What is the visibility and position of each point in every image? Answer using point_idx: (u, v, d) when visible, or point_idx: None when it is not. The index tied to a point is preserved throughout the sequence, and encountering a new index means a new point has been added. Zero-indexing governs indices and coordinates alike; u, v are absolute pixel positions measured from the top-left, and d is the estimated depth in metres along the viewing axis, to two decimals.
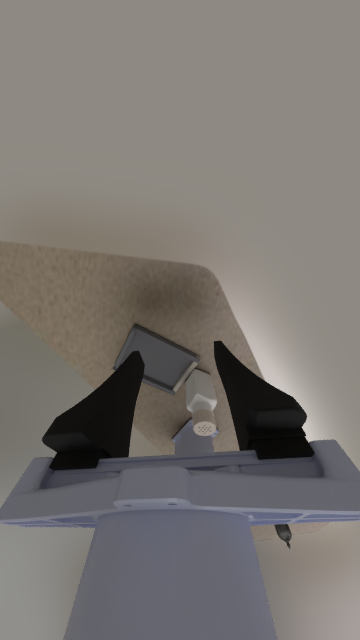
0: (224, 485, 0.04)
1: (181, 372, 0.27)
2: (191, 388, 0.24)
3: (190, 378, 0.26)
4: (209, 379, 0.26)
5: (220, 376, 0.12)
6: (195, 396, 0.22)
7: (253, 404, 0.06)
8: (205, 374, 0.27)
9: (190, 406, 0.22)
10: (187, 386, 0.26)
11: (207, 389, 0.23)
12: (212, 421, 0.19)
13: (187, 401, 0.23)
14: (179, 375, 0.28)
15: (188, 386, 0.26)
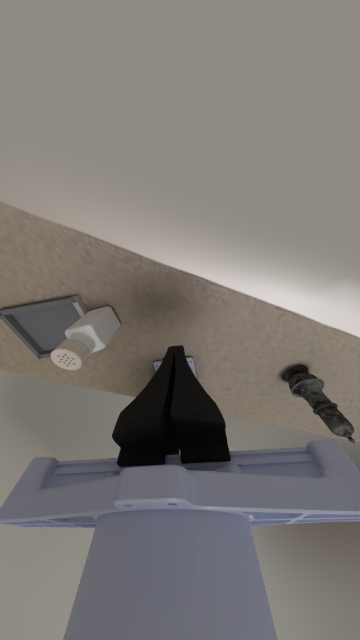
0: (224, 485, 0.04)
1: None
2: None
3: None
4: (100, 310, 0.21)
5: None
6: None
7: (175, 411, 0.06)
8: (99, 308, 0.22)
9: None
10: None
11: (85, 320, 0.19)
12: (62, 347, 0.15)
13: None
14: None
15: None
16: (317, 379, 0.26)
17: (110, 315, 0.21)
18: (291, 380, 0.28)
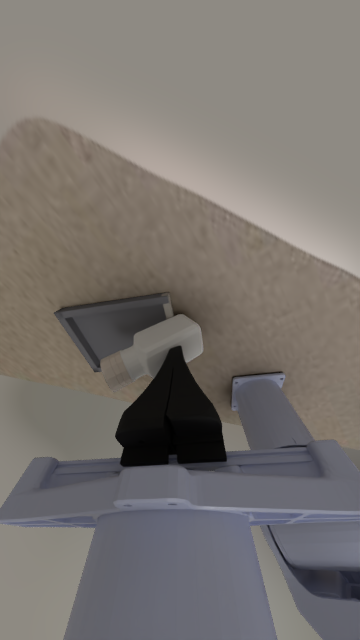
0: (224, 485, 0.04)
1: None
2: None
3: None
4: (181, 328, 0.13)
5: None
6: None
7: (172, 411, 0.07)
8: (186, 321, 0.14)
9: None
10: None
11: (154, 335, 0.13)
12: (104, 365, 0.12)
13: None
14: None
15: None
16: None
17: (190, 341, 0.13)
18: None
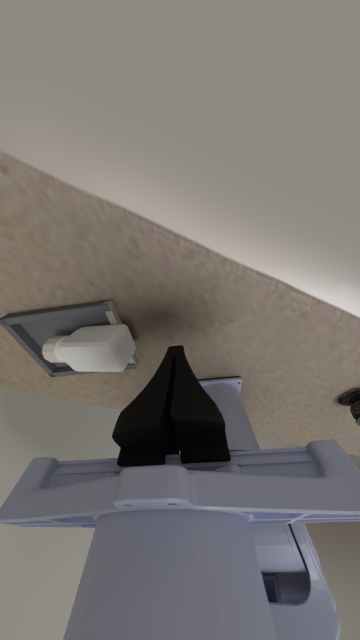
0: (224, 485, 0.04)
1: None
2: None
3: None
4: (96, 340, 0.14)
5: None
6: None
7: (175, 410, 0.06)
8: (108, 335, 0.14)
9: None
10: None
11: (81, 335, 0.15)
12: (47, 341, 0.16)
13: None
14: None
15: None
16: None
17: (98, 355, 0.14)
18: (357, 407, 0.23)
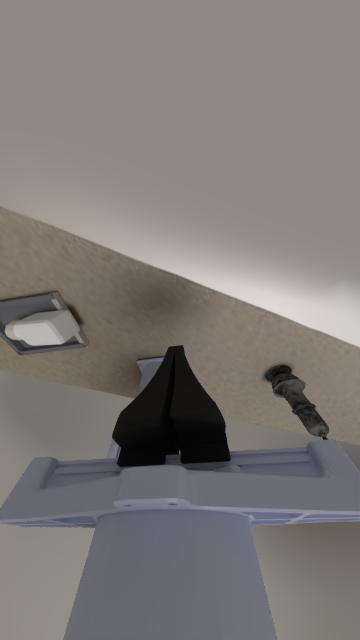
0: (224, 485, 0.04)
1: None
2: None
3: None
4: (40, 319, 0.19)
5: None
6: None
7: (175, 411, 0.06)
8: (50, 316, 0.19)
9: None
10: None
11: (32, 317, 0.20)
12: (9, 323, 0.21)
13: None
14: None
15: None
16: (298, 380, 0.26)
17: (40, 330, 0.19)
18: (273, 380, 0.28)
